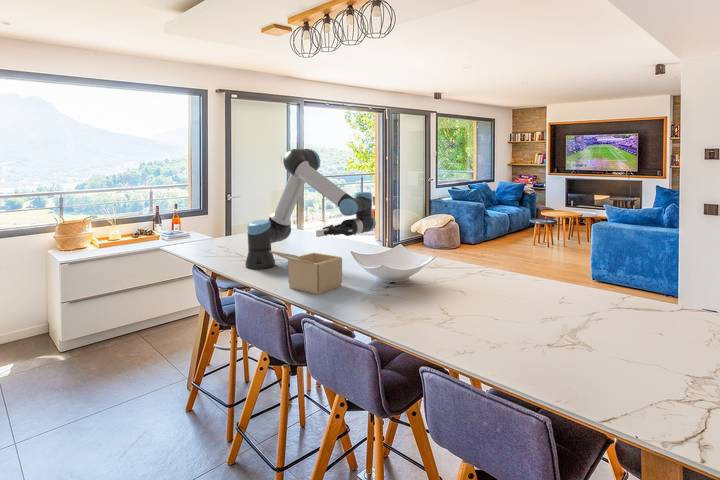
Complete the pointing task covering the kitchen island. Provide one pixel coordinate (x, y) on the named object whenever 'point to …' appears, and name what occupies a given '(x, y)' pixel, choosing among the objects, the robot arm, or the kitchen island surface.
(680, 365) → the kitchen island surface
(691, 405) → the kitchen island surface
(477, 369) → the kitchen island surface
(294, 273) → the carton
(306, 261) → the front flap
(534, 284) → the kitchen island surface
